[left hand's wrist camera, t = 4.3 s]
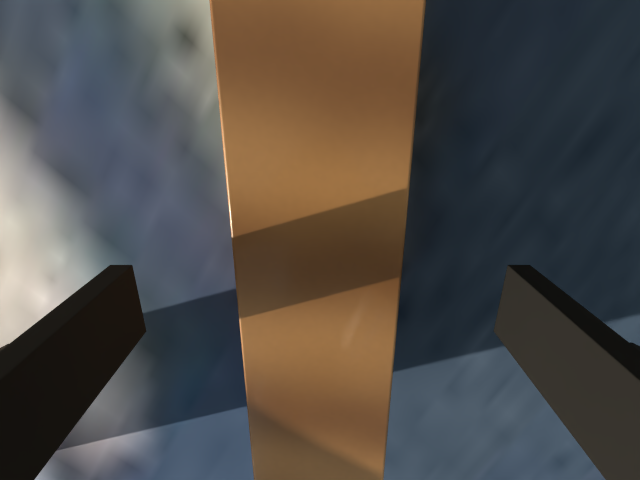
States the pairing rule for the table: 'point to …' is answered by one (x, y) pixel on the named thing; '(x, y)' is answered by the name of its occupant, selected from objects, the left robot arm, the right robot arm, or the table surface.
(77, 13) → the table surface
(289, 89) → the beam
